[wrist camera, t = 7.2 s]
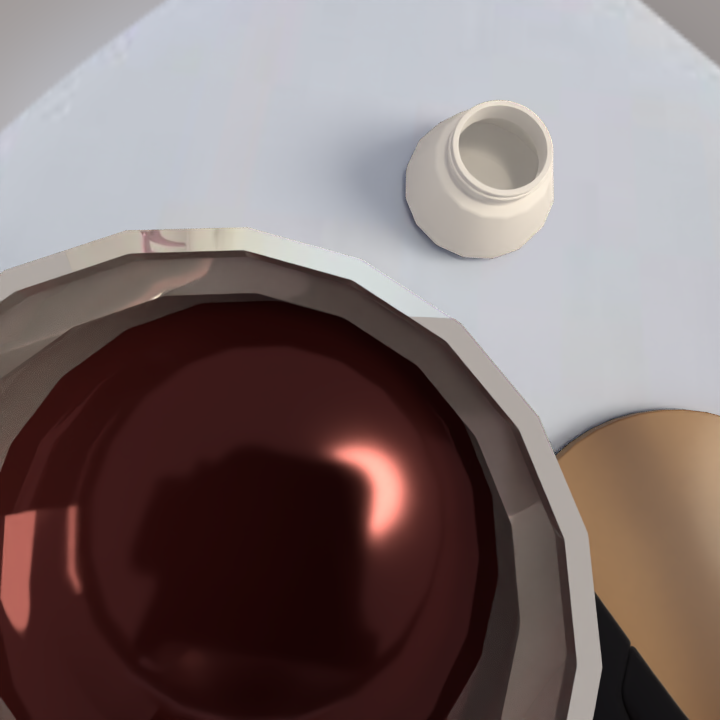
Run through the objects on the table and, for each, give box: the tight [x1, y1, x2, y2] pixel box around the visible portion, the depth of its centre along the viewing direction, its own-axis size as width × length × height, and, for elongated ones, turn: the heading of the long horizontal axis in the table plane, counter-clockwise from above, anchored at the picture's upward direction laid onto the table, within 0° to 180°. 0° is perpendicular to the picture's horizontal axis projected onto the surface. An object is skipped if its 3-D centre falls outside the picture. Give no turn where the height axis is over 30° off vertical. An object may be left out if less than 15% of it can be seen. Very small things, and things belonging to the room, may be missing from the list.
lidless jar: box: [406, 100, 554, 259], centre depth 16 cm, size 5×3×5 cm
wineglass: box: [0, 227, 602, 720], centre depth 10 cm, size 7×7×12 cm
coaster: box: [555, 410, 720, 720], centre depth 16 cm, size 12×12×1 cm
